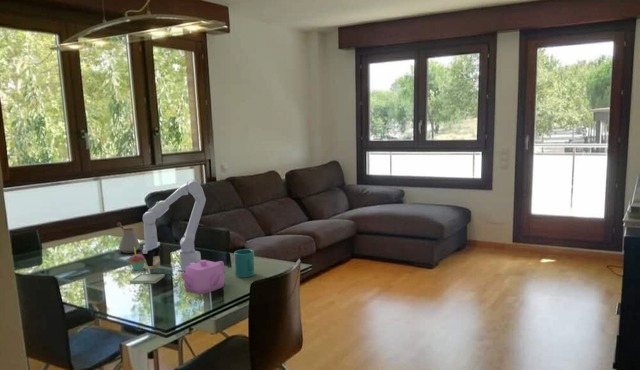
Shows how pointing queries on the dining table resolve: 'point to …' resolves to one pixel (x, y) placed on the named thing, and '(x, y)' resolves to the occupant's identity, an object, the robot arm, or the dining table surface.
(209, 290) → the pink lidded box
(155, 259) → the maple cube
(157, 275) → the grey green picture frame
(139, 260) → the cupcake
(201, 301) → the dining table surface
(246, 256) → the cup
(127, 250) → the coffee pot
